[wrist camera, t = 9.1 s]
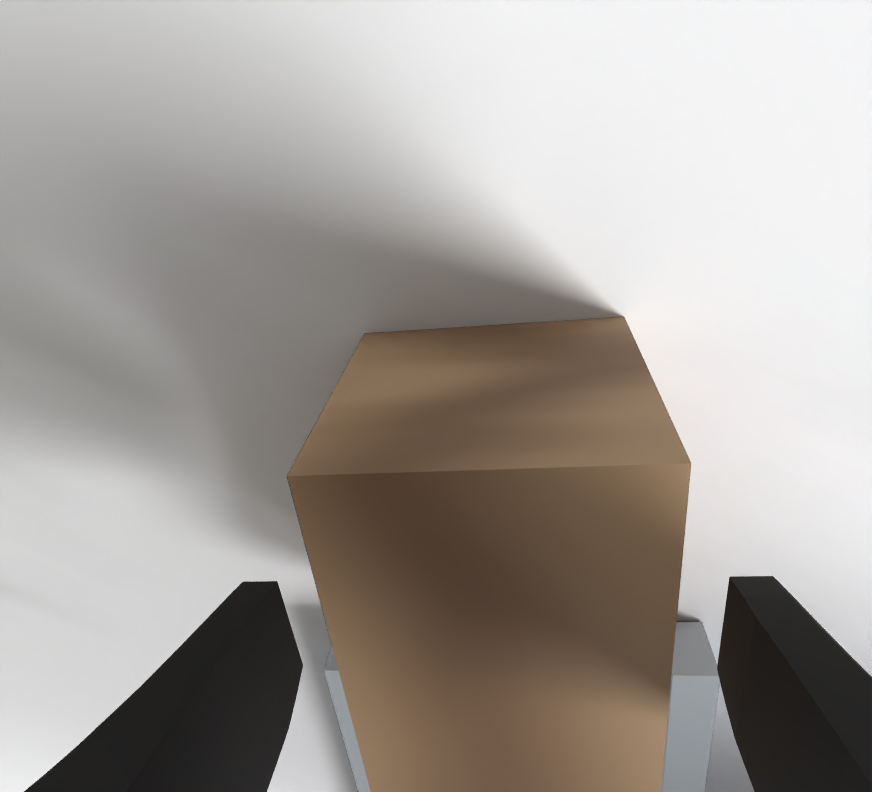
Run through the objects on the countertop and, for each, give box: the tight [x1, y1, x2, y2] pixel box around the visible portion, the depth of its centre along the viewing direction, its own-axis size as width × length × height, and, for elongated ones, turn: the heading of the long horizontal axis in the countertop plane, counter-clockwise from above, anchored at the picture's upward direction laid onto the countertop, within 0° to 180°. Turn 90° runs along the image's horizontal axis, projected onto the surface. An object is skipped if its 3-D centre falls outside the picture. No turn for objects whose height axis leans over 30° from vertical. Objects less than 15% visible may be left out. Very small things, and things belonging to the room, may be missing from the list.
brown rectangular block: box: [287, 317, 691, 792], centre depth 11 cm, size 5×7×5 cm
